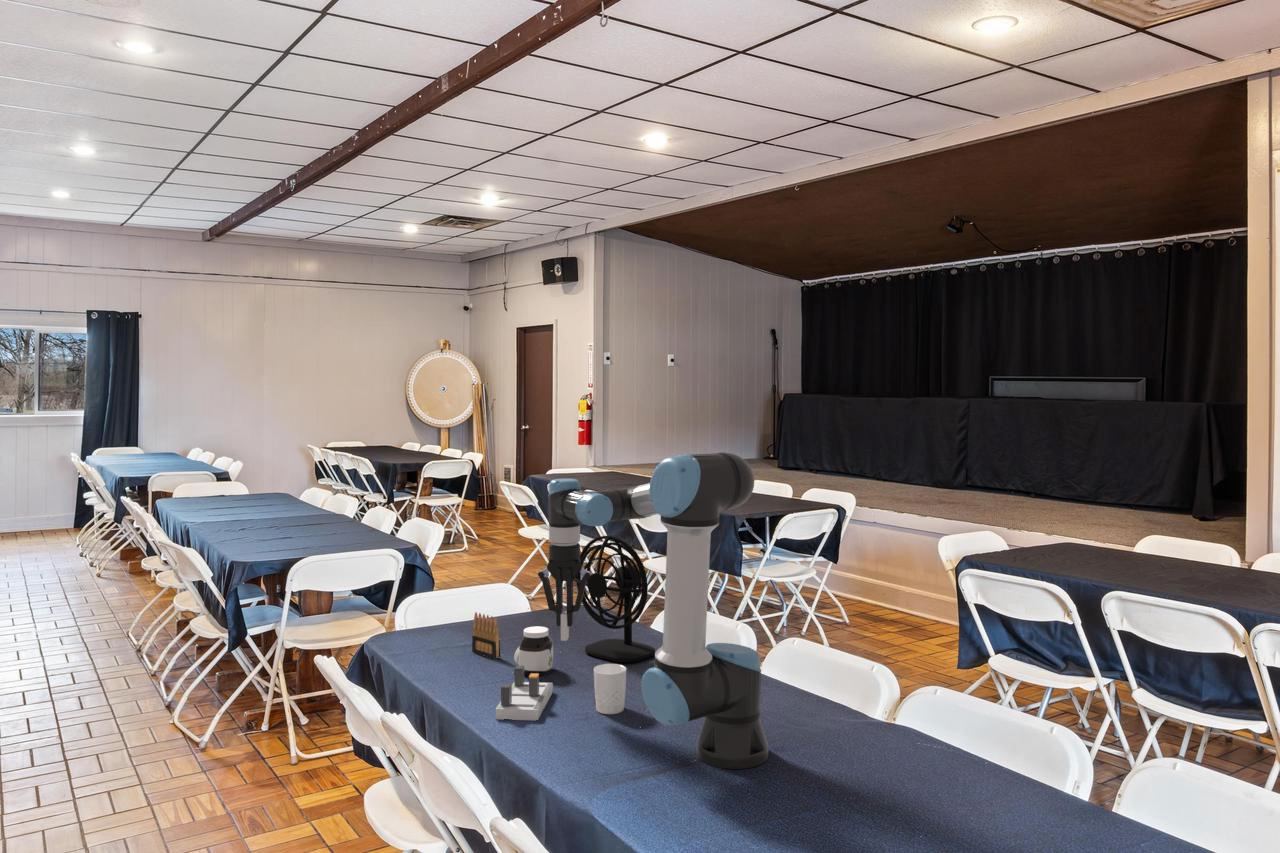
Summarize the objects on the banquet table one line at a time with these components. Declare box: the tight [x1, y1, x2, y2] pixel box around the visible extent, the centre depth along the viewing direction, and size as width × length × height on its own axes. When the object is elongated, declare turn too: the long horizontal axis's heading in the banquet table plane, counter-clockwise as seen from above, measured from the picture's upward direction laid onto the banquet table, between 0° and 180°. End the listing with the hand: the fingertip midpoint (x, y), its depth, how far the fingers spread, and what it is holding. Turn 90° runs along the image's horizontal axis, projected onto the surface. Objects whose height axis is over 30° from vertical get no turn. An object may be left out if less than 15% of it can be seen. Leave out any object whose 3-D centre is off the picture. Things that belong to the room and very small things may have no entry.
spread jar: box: [513, 626, 554, 676], centre depth 247 cm, size 12×11×12 cm
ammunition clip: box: [471, 611, 501, 660], centre depth 261 cm, size 11×2×12 cm, turn 49°
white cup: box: [593, 663, 627, 715], centre depth 217 cm, size 8×8×10 cm
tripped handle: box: [528, 673, 540, 696], centre depth 220 cm, size 2×2×5 cm
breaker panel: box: [495, 681, 554, 721], centre depth 220 cm, size 19×10×3 cm, turn 175°
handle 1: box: [500, 683, 513, 706], centre depth 213 cm, size 2×2×4 cm
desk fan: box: [573, 534, 656, 663], centre depth 261 cm, size 27×18×35 cm, turn 50°
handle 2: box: [513, 664, 525, 686], centre depth 227 cm, size 2×2×4 cm
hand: (564, 639), depth 219 cm, fingers closed
